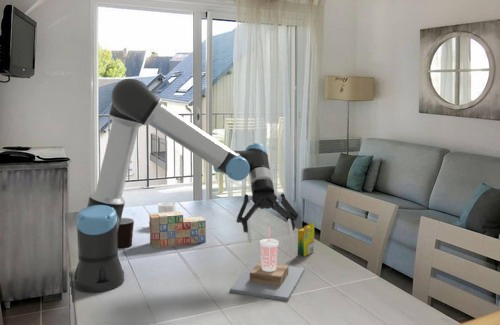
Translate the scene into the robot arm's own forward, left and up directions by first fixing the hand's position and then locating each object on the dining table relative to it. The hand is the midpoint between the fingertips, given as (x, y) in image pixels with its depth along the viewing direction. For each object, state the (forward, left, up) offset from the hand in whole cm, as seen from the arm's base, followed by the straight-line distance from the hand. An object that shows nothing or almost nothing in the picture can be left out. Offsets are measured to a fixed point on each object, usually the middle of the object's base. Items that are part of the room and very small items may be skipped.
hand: (271, 240), depth 144 cm
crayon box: (+29, -6, -14) cm, 33 cm away
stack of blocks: (+24, +45, -14) cm, 53 cm away
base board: (0, 0, -14) cm, 14 cm away
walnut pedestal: (0, 0, -14) cm, 14 cm away
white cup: (+44, +60, -14) cm, 76 cm away
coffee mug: (+15, +63, -14) cm, 67 cm away
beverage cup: (0, +1, -10) cm, 10 cm away
